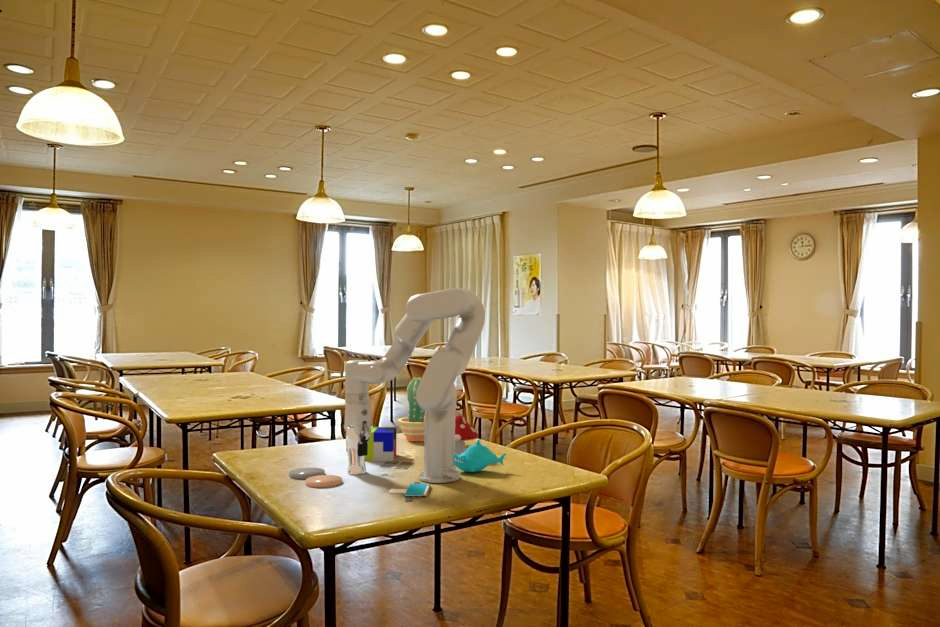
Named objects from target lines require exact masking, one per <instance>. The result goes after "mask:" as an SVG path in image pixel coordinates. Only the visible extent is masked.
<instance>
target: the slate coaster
mask: <svg viewBox="0 0 940 627" xmlns="http://www.w3.org/2000/svg"><path fill="white" fill-rule="evenodd" d="M325 472H326V471H325V469H323V468H320V467H299V468H295V469H292V470H290V471H289V472H288V476H289V478H291V479H293V480H306V479H307V478H309V477H313V476H319V475H326V474H325Z"/></svg>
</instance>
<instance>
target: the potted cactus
mask: <svg viewBox="0 0 940 627" xmlns="http://www.w3.org/2000/svg"><path fill="white" fill-rule="evenodd" d="M421 379H422V377H415V376H414V377H413V378H412V379H411V380H410V382H409V384H408V385H407V387H406V398H407V402H408V403H407V404H408V417H407V416H406V417H401V418H398V419H397V423H398V424H397V425H399V426H400V429H401V432H402V433H403V435H404V436H405V441H406V440H407V442H411V441H421V442H424V431H425V410H423V409H422V408H421V407H420V406H419V405H418V403H417V400H416V392H417V389H418V386H419V384H420V381H421Z"/></svg>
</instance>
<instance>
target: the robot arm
mask: <svg viewBox="0 0 940 627" xmlns="http://www.w3.org/2000/svg"><path fill="white" fill-rule="evenodd" d="M455 317H457V322H456V323H455V325H454V327H453V329H452V331H451V333H450V336H449V337H448V340H447V342H446V344H445V346H444V347H441V348H440V349H437V350H436V351H435V352H434V353H433V354H432V356H431V358H430V359H429V360H428V361H429V362H428V363H427V366H426V368H425V370H424V372H423V375H422V377H421V378H422V379H421V381H420V384H419V386H418V389H417V392H416V400H417V403H418V405H419V406H420V407H421V408H422V409H423V410H425V413H424V417H425V431H424V441H423V442H424V453H423V454H424V455H423V456H424V460H423V462H424V466H423V468H424V471H423V472H420V473H419V475H418V477H419V480H420V481H423V482H425V483H429V484H446V483H447V484H448V483H453V482H456V481H458V480H459V479H460V478H461V477H460V475H461V472H460V471H458V470H457V467H456V465H455V417H456V410H457V409H456V408H457V402H458V401H457V400H458V399H457V398H458V392H457V391H458V390H457V388H456V385H455V382H456V379H457V377H458V376H460V375H462V374H464V372H465V371H466V370H467V368H468V365H469V362H470V360H471V358H472V356H473V353H474V351H475V348H476V347H477V344H478V341H479V340H480V336H481V335H482V332H483V329H484V326H485V323H486V322H485V321H486V310H485V307H484V304H483V302H482V300H481V299H480V297H479V296H478V295H477V294H476V293H474V292H473V291H472V290H470V289H467V288H459V287H451V288H446V289H440V290H437V291H436V290H435V291H431V292H424V293H417V294H415V295H412V296H411V297H409V299H408V300H407V301H406V304H405V315H404V316H403V317H402V318H401V319H400V320H399V322H398V324H396V326H395V328H394V330H393V342H392V344H391V346H390V347H389V349H388V350H387V351H386V353H385V354H384V355H383V357H382V358H381V359H378V360H371V361H368V360H366V359H365V360H364V359H350V360H348V361H346V362H345V366H344V371H345V372H344V374H345V375H344V376H345V378H344V381H345V382H344V383H345V384H344V385H345V386H344V390H345V391H344V394H345V395H344V397H345V398H344V399H345V400H344V404H345V409H344V424H343V429H344V434H345V435H346V430H347V426H348V427H350V428H354V430H355V434H356V435H358V440H359V444H358V456H366V455H367V454H368V440H369V437H370V435H371V427H372V419H371V418H372V417H371V416H372V415H371V414H372V412H371V406H370V402H369V401H370V385H374V386H375V385H381V384H384V383H387V382H391V381H392V380H393V379H395V378H396V377H397V376H398V374H400V372H401V371H402V369H403V368H404V367H405V366H406V364H407V362H408V361H409V360H410V359H411V356H412V354H413V352H414V350H415V348H416V346H417V345H418V343H419V342H420V340H421V339H422V338H423V337H424V335H425V334H426V332H427V331H428V330H429V329H430V327H431V326H432V325H433V323H434V322H435V321H437V320H442V319H448V318H455ZM361 431H364V432H365V433H360V432H361ZM361 436H363V438H361ZM345 449H346V452H347V447H346V448H345Z"/></svg>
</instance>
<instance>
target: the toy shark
mask: <svg viewBox="0 0 940 627" xmlns="http://www.w3.org/2000/svg"><path fill="white" fill-rule="evenodd" d="M505 456H507V452H504V453H502V455H501V456H500V457H498V456H497V454H496V453H493V452H492V451H491V449H489V448H488V447H487V446H486V445H484V444H482V443H481V440H480V438H478V439H477V441H476V443H475V444H471V445H470V446H469V447H466V451H465V452H464V453H461V455H457V454H455V465H456V469H459V470H461V471H463V472H466V473H476V472H480V471H482V470H484V469H486V468H487V467H489V466H490V465H493V464H494V465H497V464H498V463H500V464H501V465H502V466H503V465H505V464H504V458H505Z"/></svg>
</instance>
